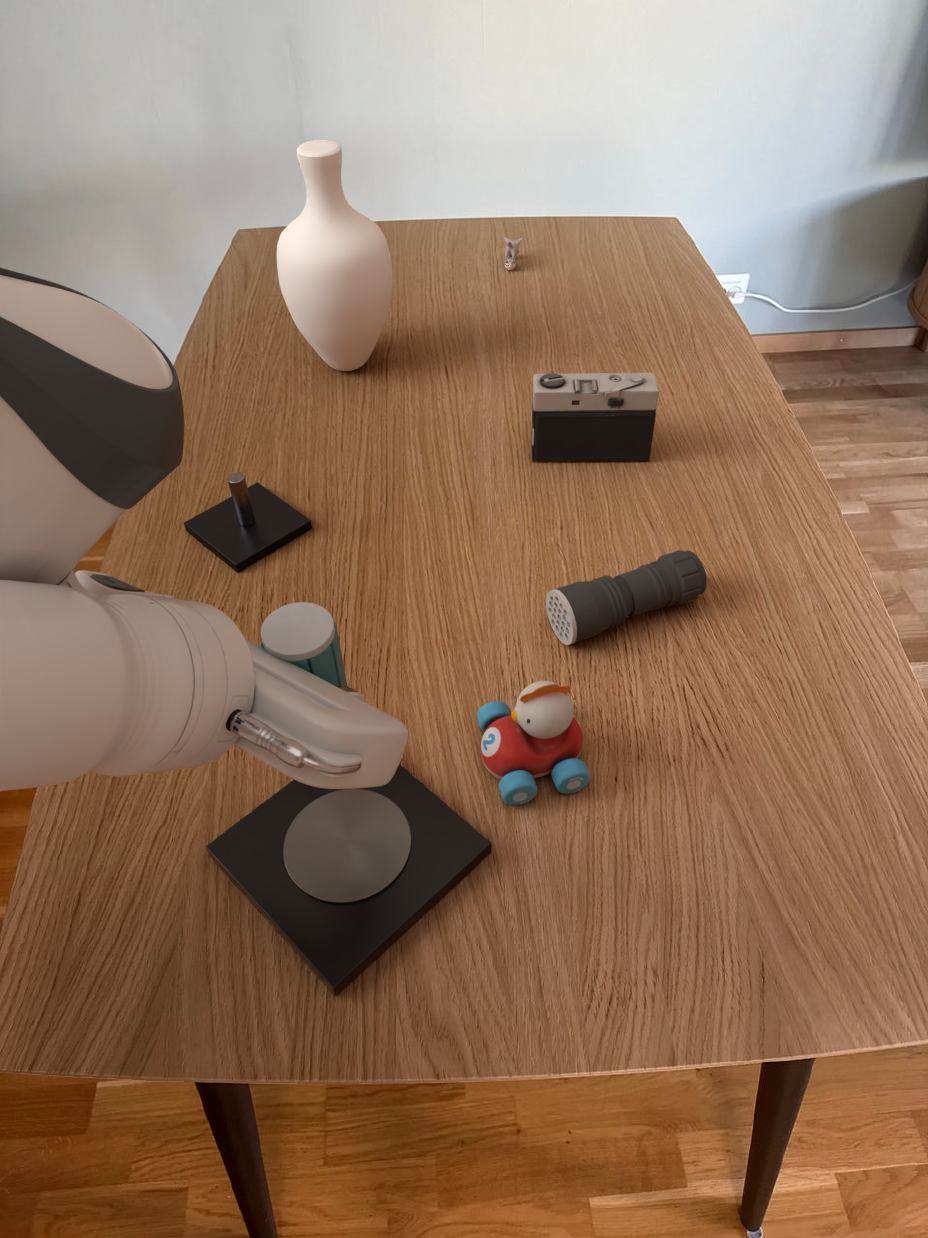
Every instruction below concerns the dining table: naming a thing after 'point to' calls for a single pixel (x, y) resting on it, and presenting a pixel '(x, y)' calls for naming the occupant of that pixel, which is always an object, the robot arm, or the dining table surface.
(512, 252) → the dog figurine
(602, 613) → the flashlight
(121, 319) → the robot arm
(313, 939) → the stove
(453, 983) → the dining table surface
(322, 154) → the vase
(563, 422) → the camera
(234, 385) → the dining table surface
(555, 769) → the toy car
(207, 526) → the black peg stand
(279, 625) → the teal ribbed pillar
